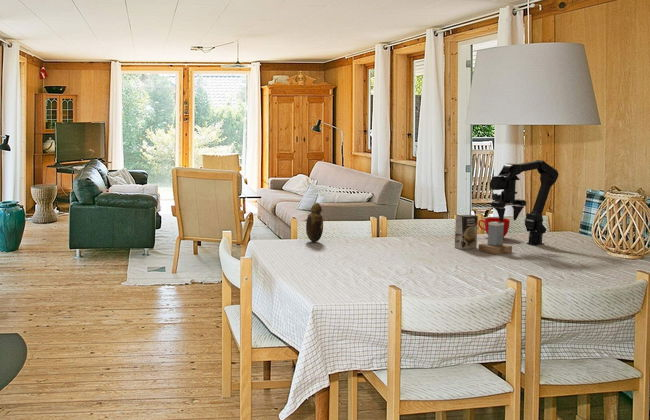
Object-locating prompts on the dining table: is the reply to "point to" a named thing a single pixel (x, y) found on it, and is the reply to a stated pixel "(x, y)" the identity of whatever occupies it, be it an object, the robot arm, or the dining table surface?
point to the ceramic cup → (505, 221)
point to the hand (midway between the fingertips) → (508, 220)
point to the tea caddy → (495, 233)
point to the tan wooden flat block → (495, 249)
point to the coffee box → (466, 231)
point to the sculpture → (315, 223)
